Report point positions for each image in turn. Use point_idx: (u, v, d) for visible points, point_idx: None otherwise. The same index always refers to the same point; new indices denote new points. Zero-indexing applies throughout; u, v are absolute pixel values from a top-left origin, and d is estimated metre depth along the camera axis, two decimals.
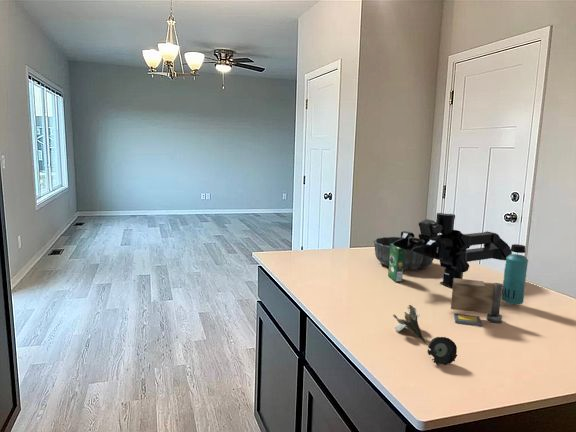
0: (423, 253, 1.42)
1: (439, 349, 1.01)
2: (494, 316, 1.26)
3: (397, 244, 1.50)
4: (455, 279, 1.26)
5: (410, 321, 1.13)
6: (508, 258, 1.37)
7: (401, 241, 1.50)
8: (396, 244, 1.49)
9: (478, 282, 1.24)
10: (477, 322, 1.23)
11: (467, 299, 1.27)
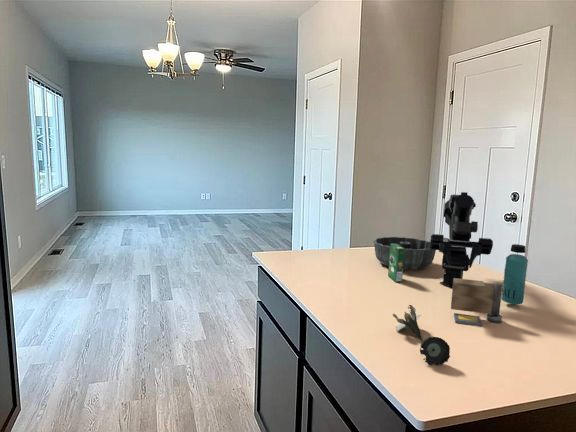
0: None
1: (432, 349, 1.01)
2: (494, 316, 1.26)
3: (450, 261, 1.39)
4: (455, 279, 1.26)
5: (409, 321, 1.13)
6: (508, 258, 1.37)
7: None
8: (450, 263, 1.39)
9: (478, 282, 1.24)
10: (477, 322, 1.23)
11: (467, 299, 1.27)
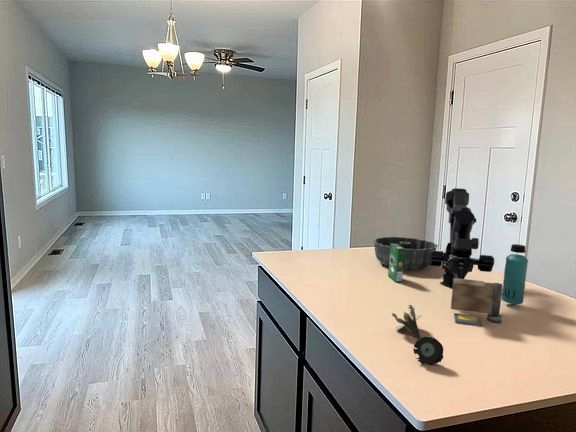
0: None
1: (426, 349, 1.01)
2: (494, 316, 1.26)
3: None
4: (455, 279, 1.26)
5: (407, 320, 1.14)
6: (508, 258, 1.37)
7: (459, 273, 1.34)
8: None
9: (478, 282, 1.24)
10: (477, 322, 1.23)
11: (467, 299, 1.27)
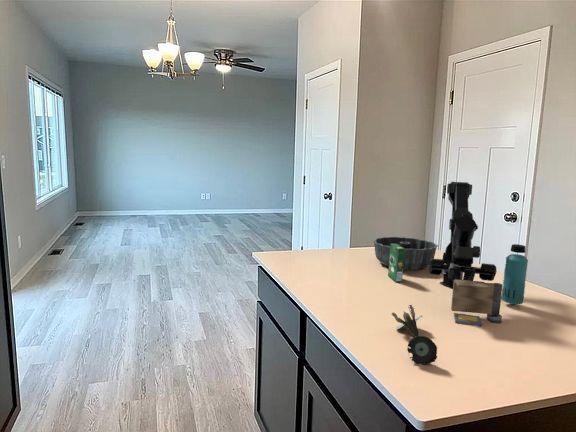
0: None
1: (420, 348, 1.01)
2: (494, 316, 1.26)
3: None
4: (457, 280, 1.25)
5: (407, 320, 1.14)
6: (508, 258, 1.37)
7: None
8: None
9: (480, 283, 1.23)
10: (477, 322, 1.23)
11: (468, 300, 1.27)
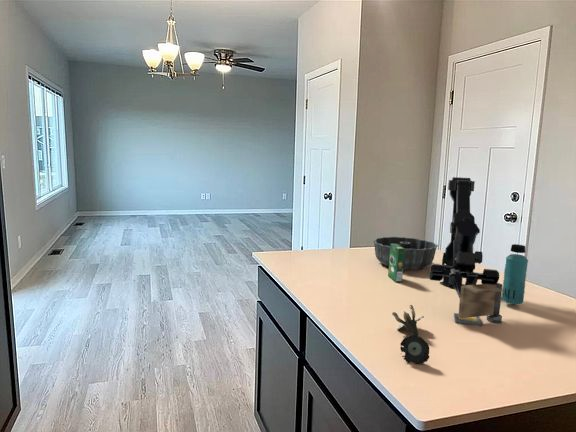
0: None
1: (413, 348, 1.01)
2: (494, 316, 1.26)
3: None
4: (468, 286, 1.20)
5: (406, 320, 1.14)
6: (508, 258, 1.37)
7: None
8: None
9: (488, 286, 1.21)
10: (477, 322, 1.23)
11: (474, 304, 1.23)
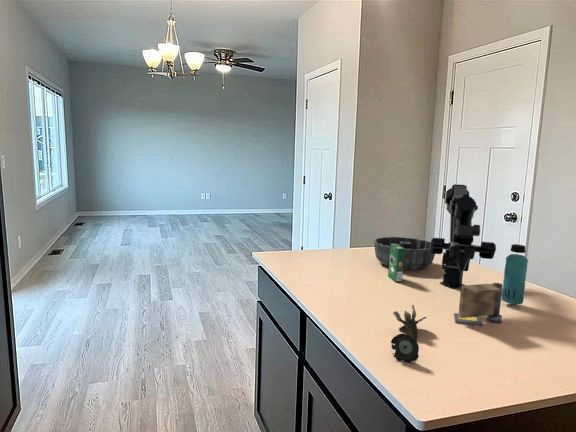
0: (466, 264, 1.34)
1: (404, 346, 1.02)
2: (494, 316, 1.26)
3: None
4: (468, 286, 1.20)
5: (406, 320, 1.14)
6: (508, 258, 1.37)
7: None
8: None
9: (488, 286, 1.21)
10: (477, 322, 1.23)
11: (474, 304, 1.23)
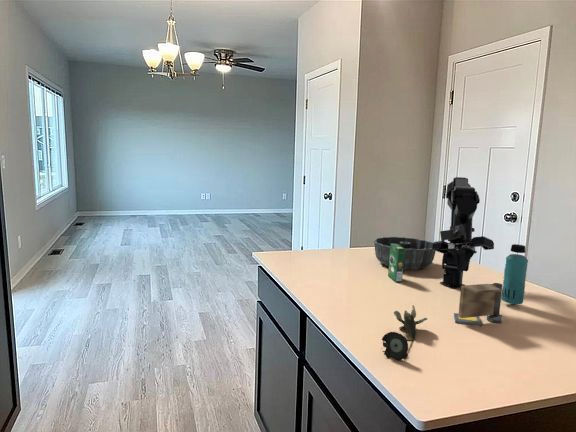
0: (467, 261, 1.36)
1: (395, 344, 1.03)
2: (494, 316, 1.26)
3: None
4: (468, 286, 1.20)
5: (404, 319, 1.14)
6: (508, 258, 1.37)
7: (459, 260, 1.37)
8: None
9: (488, 286, 1.21)
10: (477, 322, 1.23)
11: (474, 304, 1.23)
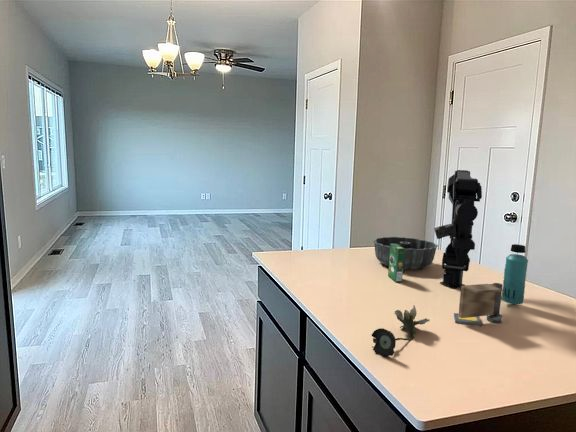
0: (464, 255, 1.39)
1: (384, 341, 1.04)
2: (494, 316, 1.26)
3: None
4: (468, 286, 1.20)
5: None
6: (508, 258, 1.37)
7: None
8: None
9: (488, 286, 1.21)
10: (477, 322, 1.23)
11: (474, 304, 1.23)
